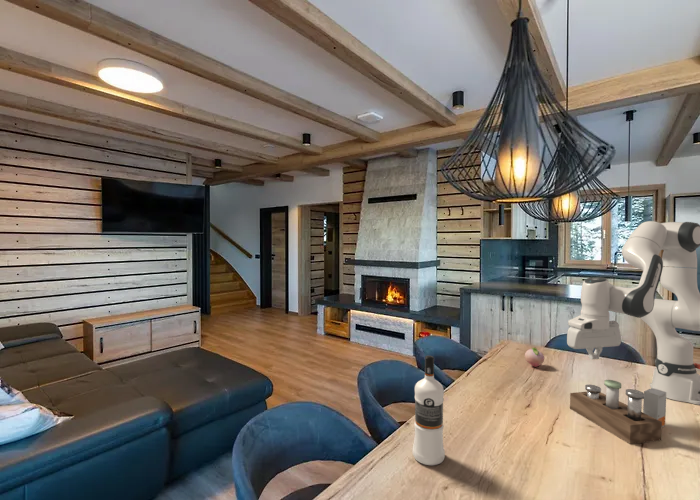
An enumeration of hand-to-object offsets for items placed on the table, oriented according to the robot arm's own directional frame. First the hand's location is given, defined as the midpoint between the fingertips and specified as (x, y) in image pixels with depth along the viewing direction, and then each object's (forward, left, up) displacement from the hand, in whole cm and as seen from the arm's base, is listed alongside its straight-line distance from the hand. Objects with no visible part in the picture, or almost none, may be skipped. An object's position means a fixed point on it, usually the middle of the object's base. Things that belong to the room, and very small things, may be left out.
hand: (593, 358), depth 133 cm
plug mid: (0, +8, -15) cm, 17 cm away
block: (0, +8, -20) cm, 22 cm away
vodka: (+71, +15, -20) cm, 76 cm away
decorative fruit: (-11, -46, -20) cm, 51 cm away
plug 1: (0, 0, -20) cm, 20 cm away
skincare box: (-13, +12, -20) cm, 27 cm away
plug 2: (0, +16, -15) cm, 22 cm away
